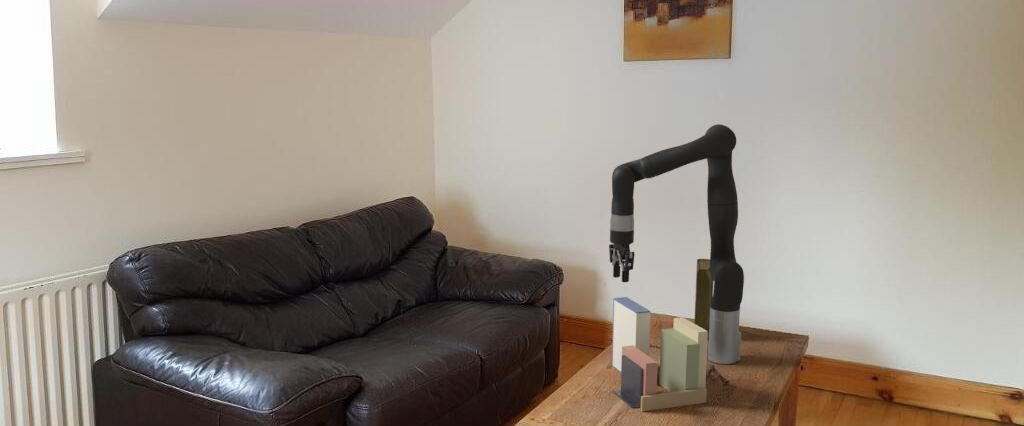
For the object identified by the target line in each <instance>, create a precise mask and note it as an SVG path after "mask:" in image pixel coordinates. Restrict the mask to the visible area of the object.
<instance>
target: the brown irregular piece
mask: <svg viewBox="0 0 1024 426" xmlns="http://www.w3.org/2000/svg"><path fill="white" fill-rule="evenodd" d="M708 368H709V370H708V372H706V378H708V377H709V378H710V379H711V380H712V381H714V382H715V381H717V378H718V379H719V380H720V381H721V383H722V385H723V386H726V385H729V382H730V380H731V379H726V378H725V377H724V376H723V375H722V374H721V373H720V371H719V370H717V369H716V367H715V365H714V364H710V363H709V364H708ZM712 373H714V374H713V375H712Z"/></svg>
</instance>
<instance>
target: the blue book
mask: <svg viewBox="0 0 1024 426" xmlns="http://www.w3.org/2000/svg"><path fill="white" fill-rule="evenodd" d="M612 299H613V301H612V302H613V305H612V338H611V340H612V341H611V347H612V348H611V367H613V368H614V369H615V370H616V371H618V372H619V373H620V374H621V363H622V347H623V346H632V345H633V346H635V347H636V348H638V349H639V350H640V351H642V352H643V353H645V354H646V355H648V356H649V357H650V343H651V341H650V340H651V313H652V312H651V310H650V309H648V308H646V307H645V306H642V305H641V304H639V303H637V302H635V301H634V300H632V299H631V298H629V297H627V296H621V297H614V298H612Z"/></svg>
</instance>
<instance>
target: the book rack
mask: <svg viewBox="0 0 1024 426" xmlns="http://www.w3.org/2000/svg"><path fill="white" fill-rule="evenodd" d="M707 338H708V331H706V330H705V329H703V328H701V327H699V326H697V325H696V324H694V322H692V321H691V320H689V319H687V318H685V317H683V316H682V317H681V316H680V317H674V318H673V327H669V328H661V330H660V351H659V352H660V355H659V358H660V359H659V382H658V362H657V361H656V360H654V359H653V358H652V357H650V355H649V356H648V355H646V354H645V353H643V352H642V351H640V350H639V349H638V348H636V347H635V346H633V345H632V346H623V347H622V355H625V356H626V357H628V358H629V359H631V360H632V361H633V362H635V363H636V364H637V365H639V366H640V367H641V368H643V393H642V396H641V407H640V411H641V412H648V411H655V410H662V409H668V408H677V407H684V406H691V405H698V404H705V403H706V404H707V395H708V388H706V381H707V380H706V379H707V376H706V375H707V361H708V339H707ZM658 383H659V385H660V386H661V388H664V390H666V389H667V390H666V391H668V392H662V393H657V388H658V387H657V386H658V385H657V384H658Z"/></svg>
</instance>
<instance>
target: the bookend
mask: <svg viewBox="0 0 1024 426" xmlns="http://www.w3.org/2000/svg"><path fill="white" fill-rule="evenodd" d="M612 392H613V394H614V395H616V396H617V397H618V398H619V399H620V400H621V401H623V402H624V403H625V404H626V405H628V407H630V408H631V409H634V408H641V396H642V393H643V368H641V367H640V366H639V365H637V364H636V363H635V362H633V361H632V360H631V359H629V358H628V357H626V356H625V355H622V363H621V373H620V389H615V390H614V389H613V391H612Z"/></svg>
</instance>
